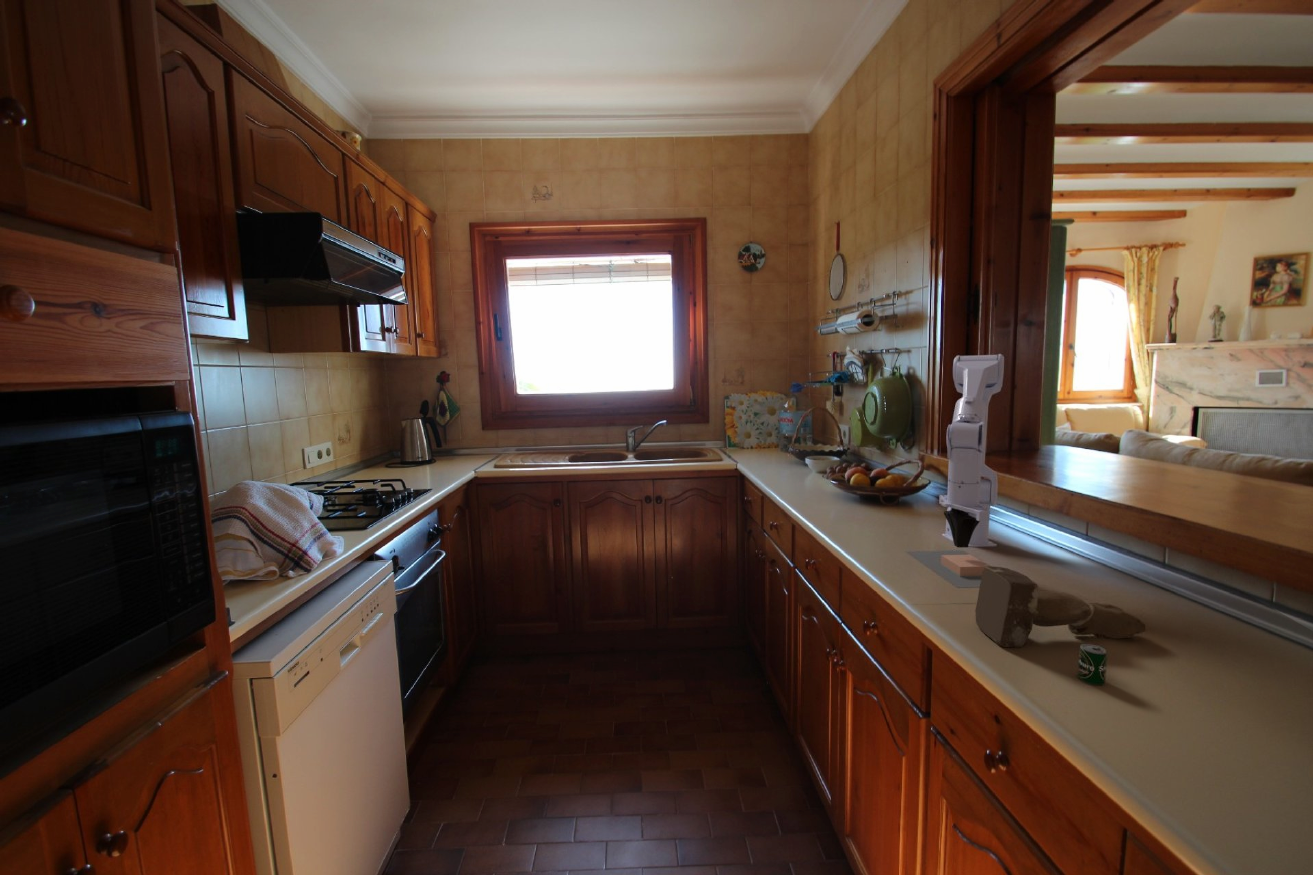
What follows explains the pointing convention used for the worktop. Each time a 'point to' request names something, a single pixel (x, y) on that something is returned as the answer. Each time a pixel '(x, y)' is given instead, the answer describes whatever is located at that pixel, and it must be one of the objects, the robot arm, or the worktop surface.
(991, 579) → the sculpture
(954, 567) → the tile
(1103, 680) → the beer can
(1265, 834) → the worktop surface
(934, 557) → the mat
